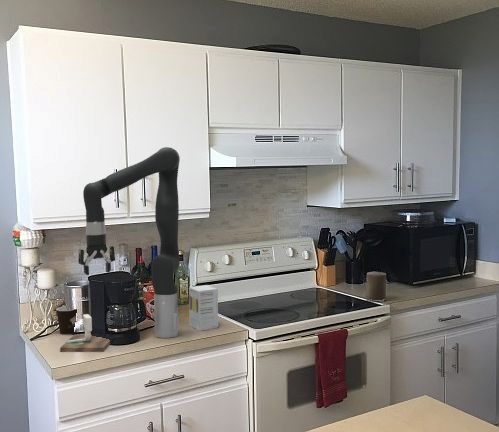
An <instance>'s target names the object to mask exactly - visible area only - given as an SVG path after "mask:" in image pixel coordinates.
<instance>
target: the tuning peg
mask: <svg viewBox="0 0 499 432" xmlns="http://www.w3.org/2000/svg"><path fill="white" fill-rule="evenodd" d="M82 319H83V320H82V322H83V325H82V327H83V329H84V335H85V338H84V339H77V340H69V339H68V340H69V341H68V340H67V341H68V343H71V342H78V341H90V340H91V335H92V334H91V332H92V331H93V322H92V321H93V318H92V316H91V315H90V314H88V313H85V314H83V315H82Z"/></svg>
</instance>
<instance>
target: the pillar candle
mask: <svg viewBox="0 0 499 432" xmlns="http://www.w3.org/2000/svg"><path fill="white" fill-rule="evenodd" d="M365 289H366V293H365V295H366V296H365V297H366V298H367V299H372V300H383V299H387V273H386V272H383V271H382V272H381V271H377V270H376V271H369V272H367V273H366V287H365ZM366 298H365V299H366Z"/></svg>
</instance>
